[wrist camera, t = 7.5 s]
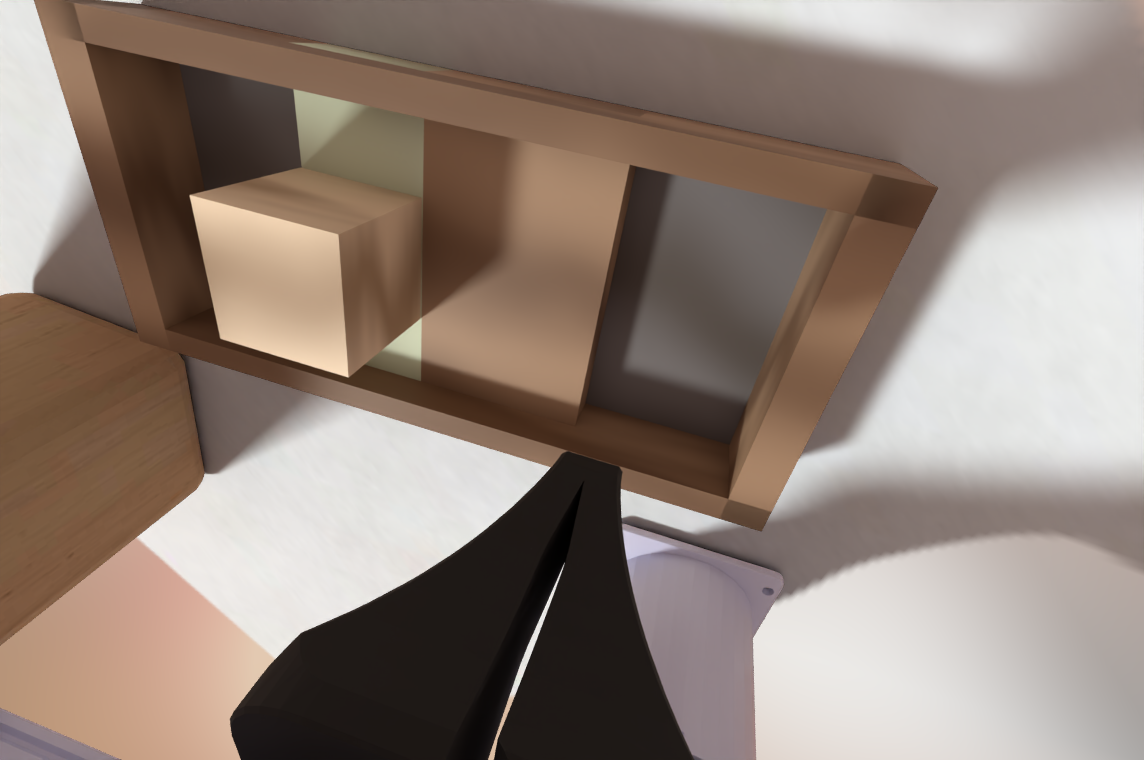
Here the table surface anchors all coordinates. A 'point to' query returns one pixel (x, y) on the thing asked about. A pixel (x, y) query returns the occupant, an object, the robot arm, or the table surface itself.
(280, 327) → the maple block
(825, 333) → the box
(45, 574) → the wooden block
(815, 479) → the table surface
